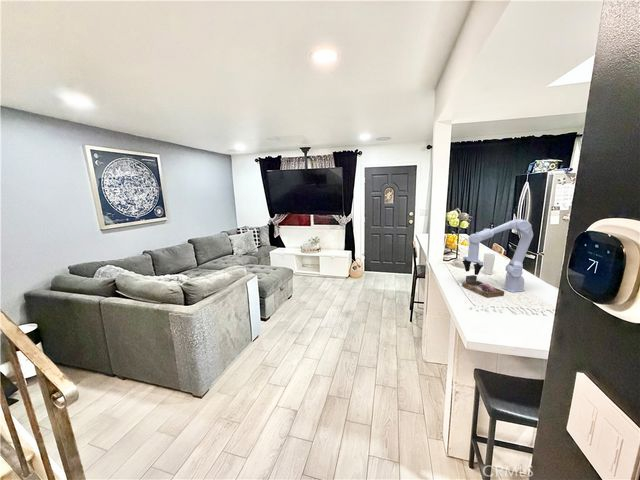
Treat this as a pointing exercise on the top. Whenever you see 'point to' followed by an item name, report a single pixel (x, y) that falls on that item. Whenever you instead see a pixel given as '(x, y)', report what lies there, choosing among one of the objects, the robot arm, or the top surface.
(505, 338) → the top surface
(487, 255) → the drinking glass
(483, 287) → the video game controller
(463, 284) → the sliding frame
